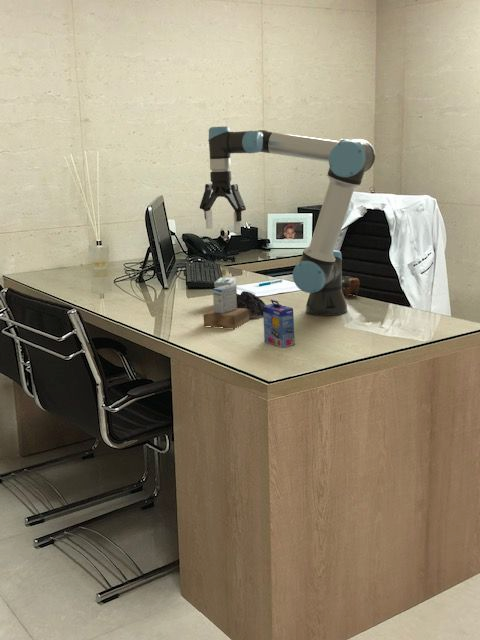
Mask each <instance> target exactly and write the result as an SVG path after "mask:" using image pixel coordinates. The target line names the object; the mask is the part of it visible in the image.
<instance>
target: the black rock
mask: <svg viewBox="0 0 480 640" xmlns="http://www.w3.org/2000/svg"><path fill="white" fill-rule="evenodd" d="M236 297H237V308H245V309H248V310H249V320H250V319H262V317H263V306H264V305H267V304H266V303H265V302H264V301H263V300H262V299H261V298H260V297H259V296H257V295H255V294H254V293H253V292H249V291H244V290H243V291H241V292H240V293H237V294H236Z"/></svg>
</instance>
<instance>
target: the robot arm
mask: <svg viewBox="0 0 480 640" xmlns="http://www.w3.org/2000/svg"><path fill="white" fill-rule="evenodd" d="M207 141H208V149H209V170H210V173H209V174H210V182H211V183H205V185H204V192H203V195H202V199H201V201H200V205H199V209H200V210H203V213H204V220H205V229H206V230H209V229H213V227H214V225H213V210H212V207H213V205H214V204H215V202H216V200H217V198H220V197H221V198H225V199H227V201H228V203H229V204H230V206H231V207H232V209H233V211H234V212H233V231H235V232H237V231H241V222H242V213H243V211H246V208H247V207H246V205H245V202H244V200H243V198H242V196H241V193H240V191H239V185H238V184H237V183H236V184H234V183H233V184H231V181H232V171H231V168H232V164H231V162H232V161H231V154H256V153H264V154H265V153H266V154H272V155H273V154H274V155H280V156H287V157H293V158H301V159H305V160H306V159H308V160H313V161H319V162H325V163H326V162H327V163H328V165H329V168H328V171H327V174H326V176H327V178H328V180H329V183H328V186H327V190H326V193H325V196H324V199H323V202H322V205H321V209H320V210H319V215H318V218H317V221H316V225H315V227H314V229H313V230H314V231H313V234H312V237H311V241H310V243H309V246H308V247H305V248H304V249H303V251H302V254H301V258H300V260H299V262H298V263H297V264H296V265H295V267H294V268H293V272H292V278H293V279H292V280H293V282H294V284H295V286H296V288H298V289H299V290H301V292H304V293H307V294H309V295H308V298H307V302H306V305H305V312H306V313H307V314H310V315H314V316H336V315H337V316H338V315H342V314H345V313H347V312H348V304H347V302H346V297H345V296H344V295H343V292H342V277H343V270H342V269H343V266H342V265H343V263H342V262H343V258H342V257H343V256H342V251H340V250H336V249H335V248H336V246H337V242H338V239H339V237H340V234H341V230H342V227H343V224H344V221H345V217H346V215H347V212H348V208H349V207H350V203H351V200H352V197H353V193H354V191H355V188H358V187H359V186H361V184H362V181H363V178H364V175H365V173H366V172H368V171H369V170H370V169H371V168H372V167H373V166H374V163H375V160H376V151H375V148H374V147H373V145H372V144H371V143H370V142H369V141H367V140H365V139H362V138H356V139H355V138H354V139H346V138H341V139H339V140H333V139H332V140H331V139H324V138H316V137H310V136H303V135H295V134H287V133H282V132H274V131H273V132H272V131H268V130H266V129H265V130H263V129H258V130H244V131H231V130H230V127H229V126H210V127H209V129H208V140H207Z"/></svg>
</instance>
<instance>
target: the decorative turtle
mask: <svg viewBox="0 0 480 640" xmlns="http://www.w3.org/2000/svg"><path fill="white" fill-rule="evenodd" d="M360 285H361V282H360V279H359V278H358V277H352V276H349V275H342V292H343V295H344V298H348V297H349V296H350V294H352V295H353V296H357V295H358V293H359V289H360Z"/></svg>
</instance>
